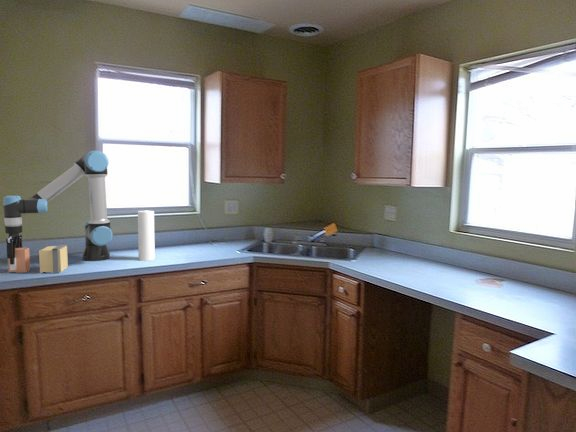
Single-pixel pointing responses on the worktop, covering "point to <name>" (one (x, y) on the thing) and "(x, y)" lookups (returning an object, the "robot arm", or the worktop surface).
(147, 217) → the cylinder container
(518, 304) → the worktop surface
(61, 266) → the block
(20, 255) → the stub
